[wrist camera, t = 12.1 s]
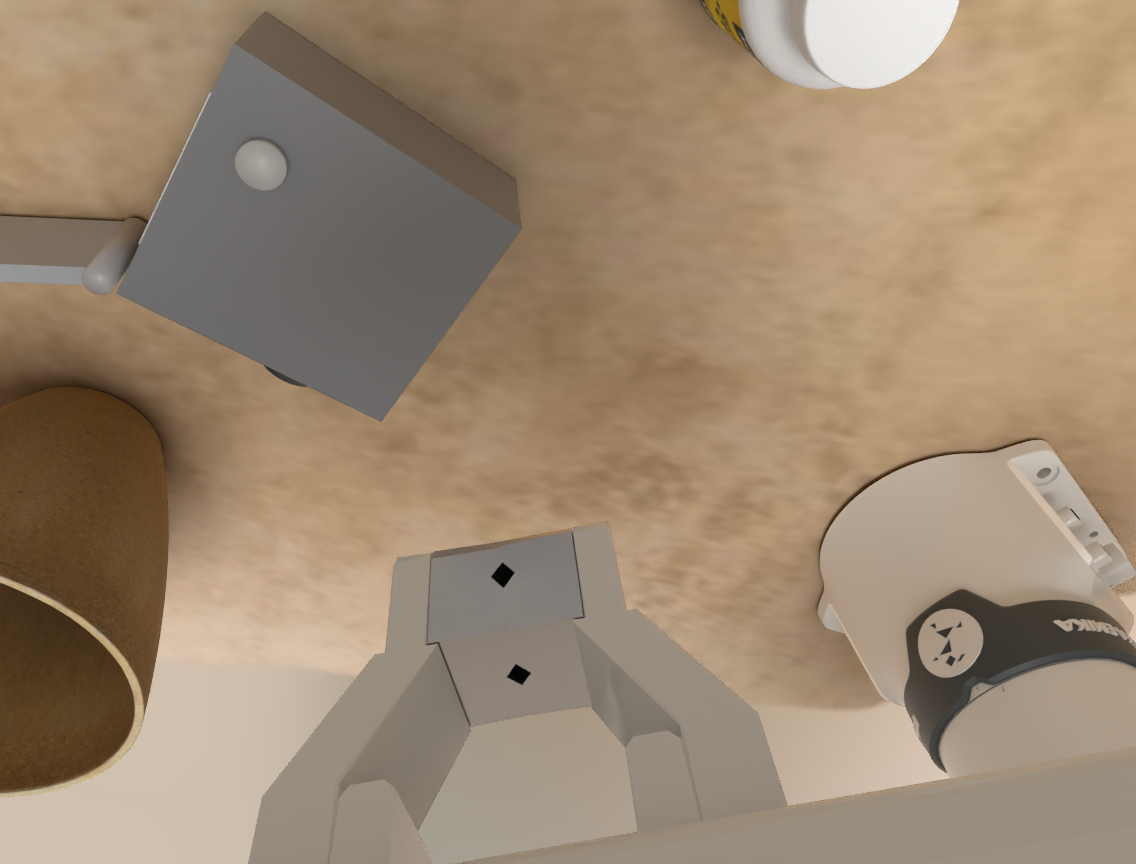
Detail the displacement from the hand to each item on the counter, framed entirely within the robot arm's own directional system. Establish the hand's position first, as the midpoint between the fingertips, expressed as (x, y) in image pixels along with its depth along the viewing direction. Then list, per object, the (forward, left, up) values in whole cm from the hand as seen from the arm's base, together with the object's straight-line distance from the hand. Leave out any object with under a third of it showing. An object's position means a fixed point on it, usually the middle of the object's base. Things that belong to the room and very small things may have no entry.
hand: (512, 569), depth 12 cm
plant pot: (+7, +28, -29) cm, 41 cm away
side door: (+13, +18, -29) cm, 36 cm away
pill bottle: (-7, -10, -29) cm, 32 cm away
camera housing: (+2, +9, -29) cm, 31 cm away
